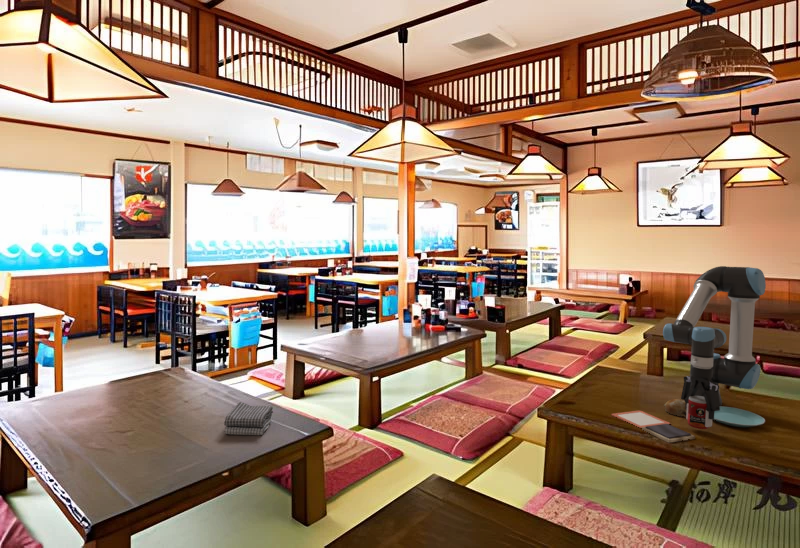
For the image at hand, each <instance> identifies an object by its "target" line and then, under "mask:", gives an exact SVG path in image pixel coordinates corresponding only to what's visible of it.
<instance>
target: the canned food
mask: <svg viewBox="0 0 800 548" xmlns="http://www.w3.org/2000/svg"><path fill="white" fill-rule="evenodd" d="M706 410H708V408H707V405H706V401H705V398H704V397H703V396H690V397H689V403H688V419H687V425H689V426H690V427H692V428H695V429H699V430H708V429H710V427H705V418H706Z"/></svg>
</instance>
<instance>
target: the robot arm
mask: <svg viewBox="0 0 800 548" xmlns="http://www.w3.org/2000/svg"><path fill="white" fill-rule="evenodd" d="M764 274H765V273H764V272H763V271H762V269H760V268H757V267H749V266H724V265H723V266H722V265H721V266H715V267H713V268H711V269H708V270H706V271H705V272H703V273H702V274H701V275H700V276H698V278H697V279H696V280H695V282H694V284H693V290H692V292H691V293H690V295H689V297H688V299H687V300H686V302H685V304H684V305H683V306H682V309H681V310H680V312H679V314H678V315H677V318H676V319H675V321H674V322H673V323H665V325H664V326H663V328H662V329H663V330H662V335H663V339H664V340H665V341H669V342H673V343H678V344H685V345H686V344H687V345H690V346H691V351H690V354H691V356H690V363H689V364H690V366H689V367H690V368H689V369H690V371H689V375H688V376H687V375H686V376H683V386H682V391H681V394H680V395H681V396H680V400H683V401H685V402H686V404H685V409H686V410H687V412H686V416H685V418H686V419H685V420H688V403H689V397H690V396H703V397H704V398H705V401H706V405H707V408H708V410H706V418H705V427H709V428H710V427H713V420H714V412H715V411H719V410H720V406H722V405H723V399H722V396H721V391H720V385H719V384H721V385H725V386H731V387H735V388H739V389H745V390H752V389H754V388H755V387H756V385H757V383H758V381H759V379H760V375H761V365H760V364H758V363H756V361H757V360H756V358H755V357H754V356H753V343H754V341H753V339H754V323H755V307H756V302H757V301H758V300H760V296H763V295H764V294H765V292H766V285H767V283H766V278H765V275H764ZM722 292H723V293H727V298H728V299H729V300H730V301H731V305H730V319H729V320H730V321H729V322H730V323H729V339H728V353H726V354H725V355H723V358H722V356H721V355H720V354H719V353H715V350H716V349H717V348H721V347H722V346H723V345H724V344H725V343H726V342H727V338H728V337H727V335H726V332H724V330H722V329H720V328H713V327H710V326H709V327H708V326H696V325H697V323H698V322H699V320H700V319H701V316H702V314H703V313H704V311H705V310H706V307H707V305H708V304H709V302H710V300H711V298H712V297H713V296H715V295H717V294H718V293H722Z"/></svg>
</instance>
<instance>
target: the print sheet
mask: <svg viewBox="0 0 800 548" xmlns="http://www.w3.org/2000/svg"><path fill="white" fill-rule="evenodd" d="M610 415H611V416H612V417H614V418H616V417H617V419H619V420H621V421H623V422H625V421H626V422H625V423H627V422H628V423H627V424H629V423H630V424H629V425H631V424H633V425H635V426H634V427H636V426H637V427H636V428H638V427H639V428H638V429H640V428H642V427H646V426H653V425H660V424H672V423H670V422H669V421H666V420H664V419H662V418H659V417H657V416H654V415H653V414H650V413H647V412H646V411H642V410H641V409H640V410H632V411H624V412H617V413H616V412H615V413H611V414H610ZM633 425H632V426H633Z"/></svg>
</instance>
